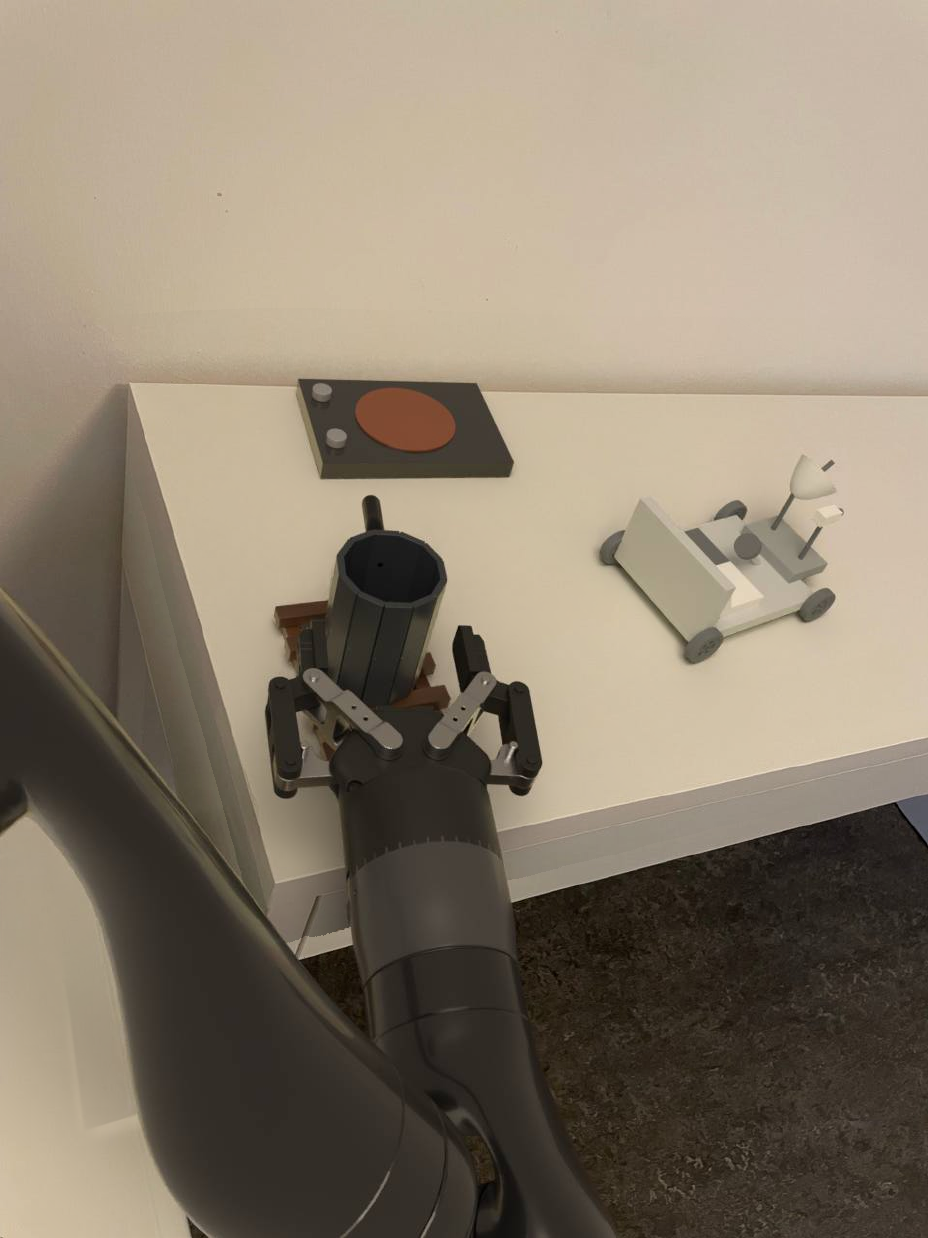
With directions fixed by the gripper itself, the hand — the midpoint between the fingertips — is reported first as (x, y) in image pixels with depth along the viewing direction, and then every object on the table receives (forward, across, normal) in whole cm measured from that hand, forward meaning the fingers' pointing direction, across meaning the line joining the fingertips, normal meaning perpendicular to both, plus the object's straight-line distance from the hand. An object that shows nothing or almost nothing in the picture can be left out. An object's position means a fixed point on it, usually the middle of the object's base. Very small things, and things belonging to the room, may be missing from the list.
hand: (389, 631), depth 59 cm
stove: (+30, -6, +8) cm, 32 cm away
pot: (+5, 0, +6) cm, 8 cm away
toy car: (+14, -30, +9) cm, 34 cm away
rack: (+3, 0, +8) cm, 9 cm away
